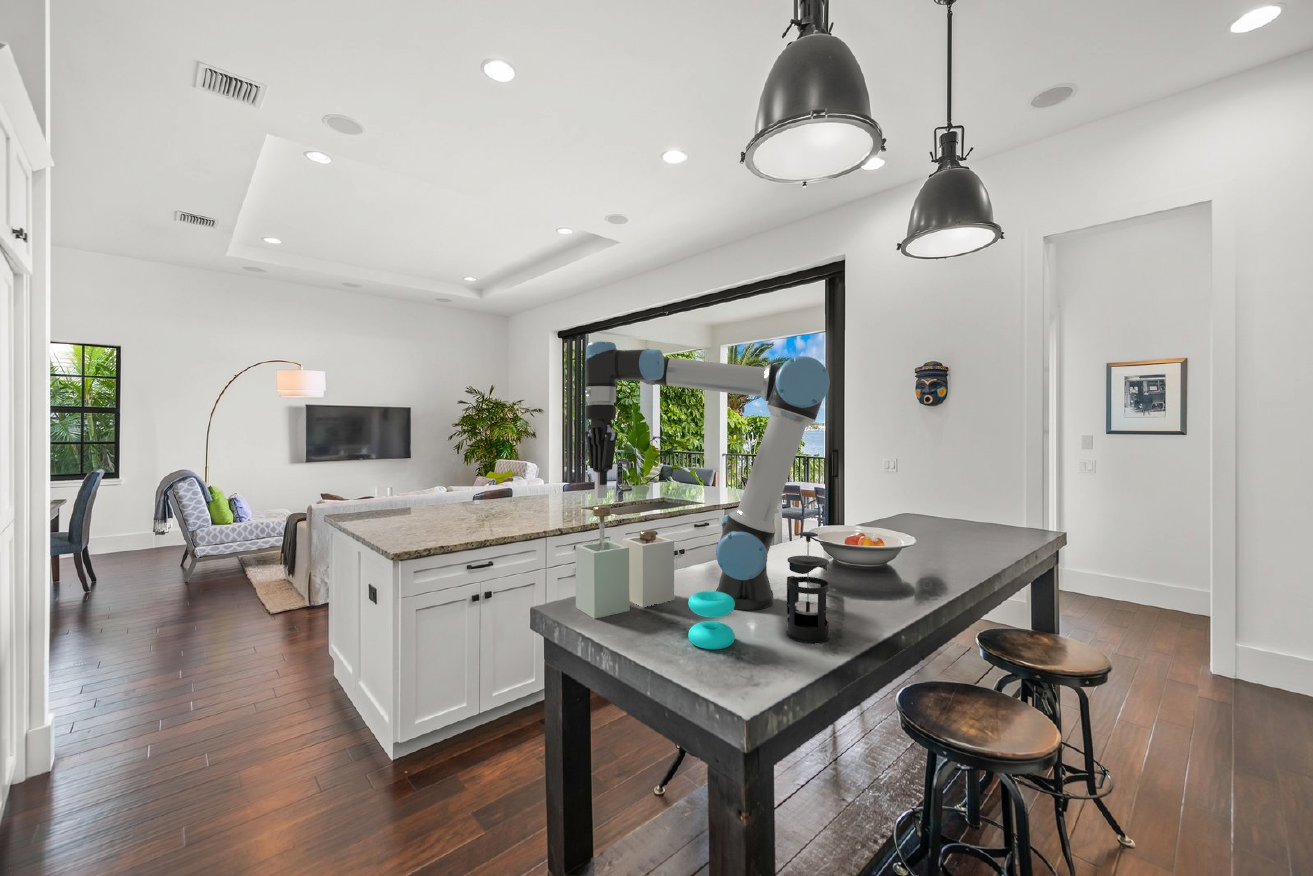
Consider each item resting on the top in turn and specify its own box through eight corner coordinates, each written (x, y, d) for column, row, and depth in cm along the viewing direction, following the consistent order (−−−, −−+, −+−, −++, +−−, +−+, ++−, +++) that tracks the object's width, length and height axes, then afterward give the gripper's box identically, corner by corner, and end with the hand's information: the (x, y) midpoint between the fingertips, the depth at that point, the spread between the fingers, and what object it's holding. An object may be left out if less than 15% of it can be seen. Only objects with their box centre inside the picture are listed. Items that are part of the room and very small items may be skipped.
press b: (629, 610, 139) (629, 547, 139) (594, 618, 134) (594, 553, 133) (609, 600, 148) (609, 540, 147) (575, 607, 142) (575, 545, 142)
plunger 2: (665, 582, 148) (665, 532, 147) (644, 586, 144) (644, 535, 144) (651, 576, 153) (651, 528, 153) (631, 580, 149) (630, 531, 149)
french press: (841, 640, 120) (842, 535, 119) (806, 648, 116) (807, 539, 116) (805, 622, 131) (806, 526, 130) (772, 629, 127) (773, 529, 126)
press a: (674, 600, 147) (674, 540, 147) (642, 607, 142) (642, 545, 141) (653, 591, 156) (652, 534, 155) (622, 597, 150) (622, 538, 149)
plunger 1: (620, 560, 140) (619, 507, 139) (596, 564, 136) (596, 510, 135) (607, 555, 145) (606, 504, 145) (584, 559, 141) (584, 506, 141)
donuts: (713, 607, 112) (678, 596, 119) (713, 656, 112) (678, 641, 120) (744, 596, 119) (709, 586, 126) (744, 642, 119) (709, 630, 127)
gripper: (575, 404, 142) (575, 495, 143) (600, 403, 132) (600, 501, 132) (601, 405, 147) (601, 493, 147) (627, 403, 136) (627, 499, 137)
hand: (600, 497), depth 140 cm, fingers closed
